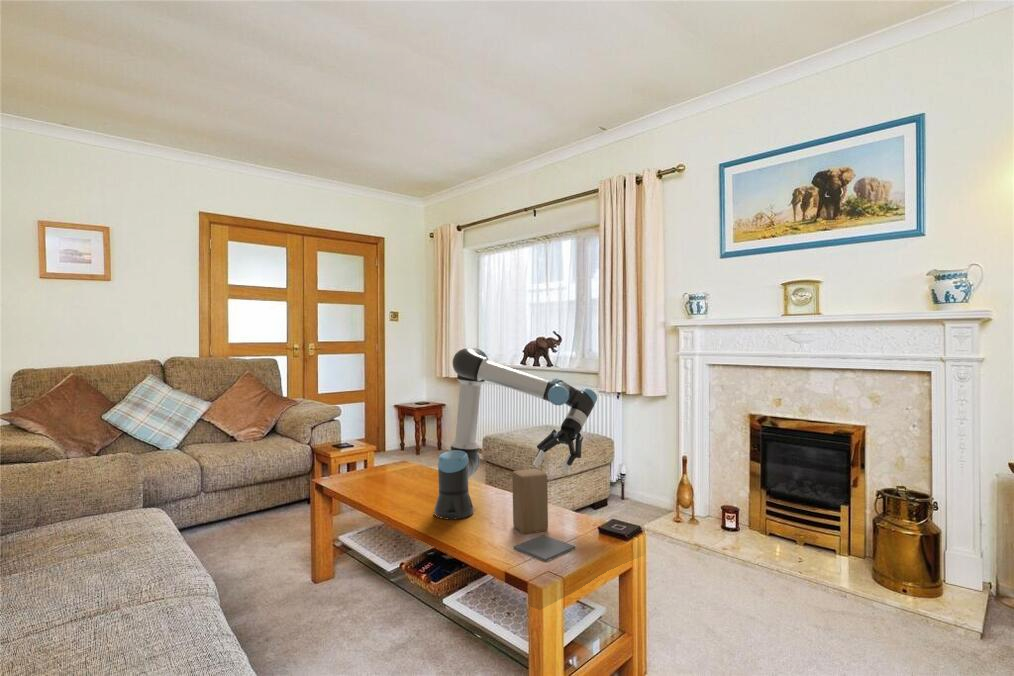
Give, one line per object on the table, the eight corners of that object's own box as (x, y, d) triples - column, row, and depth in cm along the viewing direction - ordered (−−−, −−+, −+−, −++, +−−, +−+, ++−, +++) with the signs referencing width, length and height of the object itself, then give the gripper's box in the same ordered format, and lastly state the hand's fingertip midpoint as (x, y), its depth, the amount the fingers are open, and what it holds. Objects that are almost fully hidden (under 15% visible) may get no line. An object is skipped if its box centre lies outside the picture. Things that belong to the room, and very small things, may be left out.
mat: (513, 548, 163) (513, 546, 163) (543, 537, 173) (543, 534, 173) (545, 561, 153) (545, 559, 153) (575, 548, 162) (575, 546, 162)
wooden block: (512, 526, 184) (511, 470, 185) (537, 522, 188) (536, 467, 188) (522, 535, 175) (521, 476, 175) (549, 531, 178) (548, 473, 179)
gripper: (604, 432, 191) (579, 480, 181) (554, 426, 209) (529, 469, 199) (595, 420, 188) (570, 468, 177) (545, 414, 206) (519, 457, 195)
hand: (548, 468), depth 188 cm, fingers open, 13 cm apart
